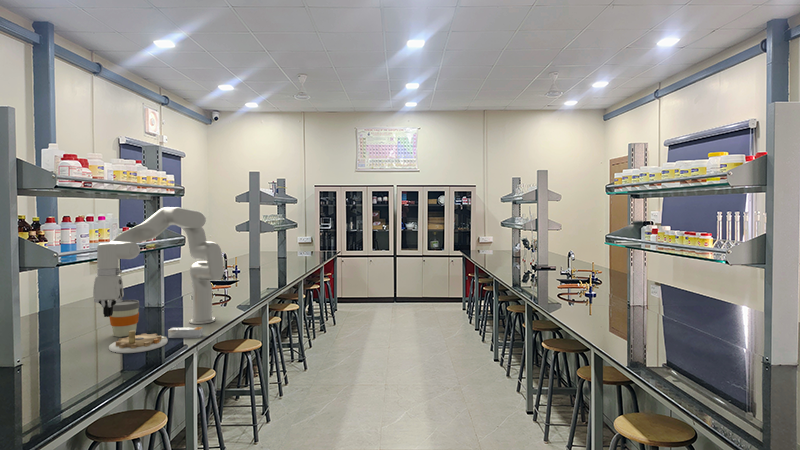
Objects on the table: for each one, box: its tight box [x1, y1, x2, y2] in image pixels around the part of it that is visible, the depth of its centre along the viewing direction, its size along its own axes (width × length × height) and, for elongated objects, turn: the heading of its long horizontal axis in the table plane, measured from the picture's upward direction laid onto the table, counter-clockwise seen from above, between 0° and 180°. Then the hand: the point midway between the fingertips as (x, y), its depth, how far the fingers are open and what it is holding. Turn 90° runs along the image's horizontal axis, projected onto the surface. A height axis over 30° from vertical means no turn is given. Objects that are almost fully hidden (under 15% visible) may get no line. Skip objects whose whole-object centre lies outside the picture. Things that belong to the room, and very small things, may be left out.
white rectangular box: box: [167, 326, 204, 339], centre depth 209 cm, size 4×14×4 cm, turn 94°
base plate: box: [108, 335, 169, 354], centre depth 196 cm, size 22×22×2 cm
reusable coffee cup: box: [108, 299, 140, 338], centre depth 212 cm, size 13×13×15 cm
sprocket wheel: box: [115, 331, 163, 348], centre depth 195 cm, size 17×17×6 cm
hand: (108, 316), depth 188 cm, fingers closed
